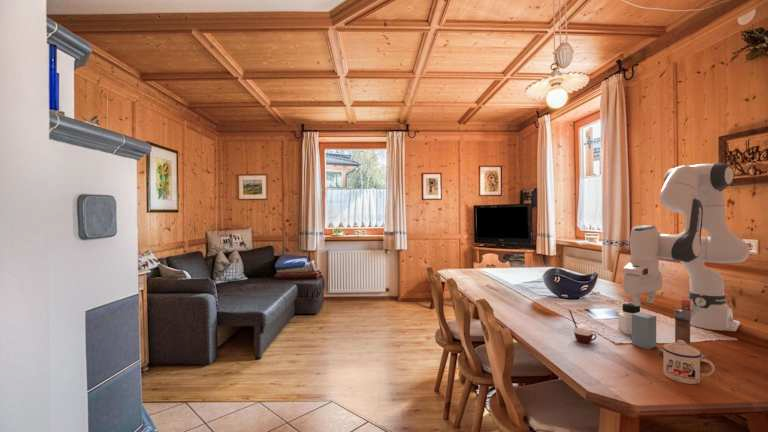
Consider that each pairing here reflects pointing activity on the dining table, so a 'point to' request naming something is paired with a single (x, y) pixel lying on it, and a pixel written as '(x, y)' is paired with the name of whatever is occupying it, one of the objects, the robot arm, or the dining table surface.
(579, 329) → the brown and white cup
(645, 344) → the grey blue rectangular block
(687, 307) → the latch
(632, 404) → the dining table surface
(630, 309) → the medicine bottle
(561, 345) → the dining table surface
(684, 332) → the post
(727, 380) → the dining table surface
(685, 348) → the teacup with lid
